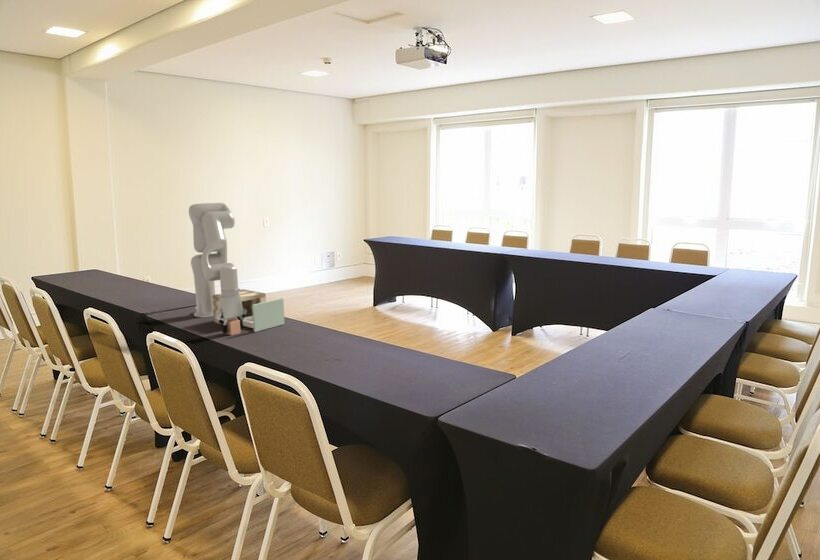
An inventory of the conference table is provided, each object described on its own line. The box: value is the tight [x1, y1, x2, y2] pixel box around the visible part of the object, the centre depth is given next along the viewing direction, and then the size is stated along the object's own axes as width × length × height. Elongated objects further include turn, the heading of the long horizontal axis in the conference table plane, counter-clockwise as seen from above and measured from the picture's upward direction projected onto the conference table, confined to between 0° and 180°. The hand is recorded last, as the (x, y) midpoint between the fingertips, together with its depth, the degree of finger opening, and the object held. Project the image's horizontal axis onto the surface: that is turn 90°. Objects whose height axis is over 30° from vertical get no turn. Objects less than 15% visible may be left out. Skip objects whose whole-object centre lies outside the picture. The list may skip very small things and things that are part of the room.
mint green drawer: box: [243, 298, 285, 333], centre depth 273 cm, size 17×17×12 cm
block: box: [224, 319, 242, 336], centre depth 262 cm, size 5×5×6 cm
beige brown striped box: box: [212, 288, 267, 325], centre depth 282 cm, size 18×18×14 cm
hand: (232, 330), depth 262 cm, fingers open, 7 cm apart
